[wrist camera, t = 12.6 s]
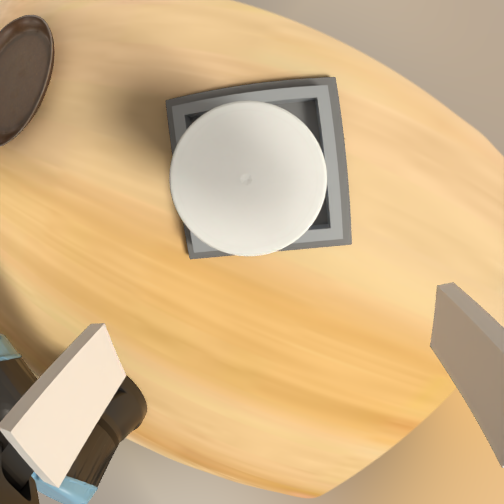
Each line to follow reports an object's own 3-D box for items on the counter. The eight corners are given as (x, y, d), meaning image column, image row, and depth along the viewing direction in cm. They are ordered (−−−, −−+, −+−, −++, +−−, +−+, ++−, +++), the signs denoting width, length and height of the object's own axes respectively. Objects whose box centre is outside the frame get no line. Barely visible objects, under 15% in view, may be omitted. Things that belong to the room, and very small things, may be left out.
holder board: (192, 256, 36) (184, 265, 33) (168, 101, 31) (158, 97, 28) (349, 241, 34) (355, 249, 31) (333, 79, 28) (338, 72, 26)
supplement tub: (220, 218, 33) (176, 266, 19) (208, 130, 30) (152, 114, 16) (312, 209, 32) (335, 253, 18) (302, 118, 29) (319, 89, 15)
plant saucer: (86, 20, 28) (73, 13, 25) (38, 160, 34) (22, 162, 31) (8, 21, 27) (-5, 17, 24) (-28, 133, 34) (-41, 134, 30)
